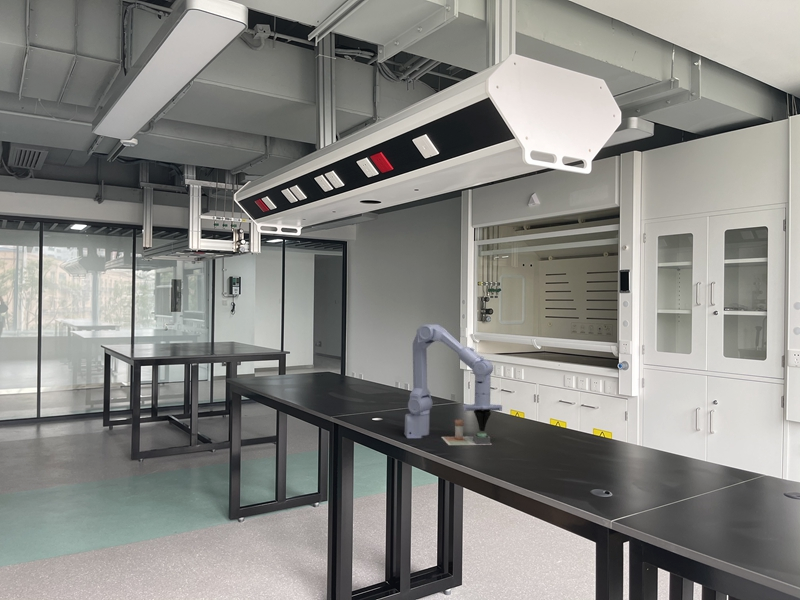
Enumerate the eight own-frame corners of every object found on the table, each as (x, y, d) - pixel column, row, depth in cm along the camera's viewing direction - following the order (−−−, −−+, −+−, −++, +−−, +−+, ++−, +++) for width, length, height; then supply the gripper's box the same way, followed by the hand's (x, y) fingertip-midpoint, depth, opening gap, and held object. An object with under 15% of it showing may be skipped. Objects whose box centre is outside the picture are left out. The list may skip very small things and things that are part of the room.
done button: (478, 439, 208) (478, 434, 208) (475, 437, 212) (475, 432, 212) (487, 439, 209) (487, 434, 209) (484, 437, 212) (484, 432, 212)
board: (448, 447, 205) (448, 444, 205) (440, 439, 218) (440, 436, 218) (491, 447, 208) (491, 444, 208) (481, 439, 220) (481, 436, 220)
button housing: (476, 444, 207) (476, 437, 207) (473, 441, 212) (473, 434, 212) (490, 444, 208) (490, 437, 208) (486, 440, 213) (486, 434, 213)
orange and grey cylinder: (455, 439, 213) (456, 421, 213) (453, 437, 216) (454, 419, 216) (464, 439, 214) (464, 420, 214) (462, 437, 217) (462, 419, 217)
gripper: (466, 395, 205) (465, 433, 205) (505, 394, 208) (504, 432, 207) (461, 392, 212) (460, 428, 212) (498, 392, 214) (498, 428, 214)
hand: (481, 430), depth 210 cm, fingers closed
